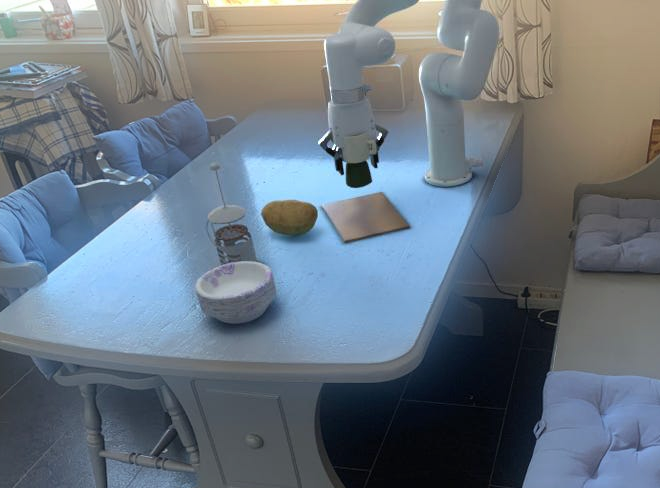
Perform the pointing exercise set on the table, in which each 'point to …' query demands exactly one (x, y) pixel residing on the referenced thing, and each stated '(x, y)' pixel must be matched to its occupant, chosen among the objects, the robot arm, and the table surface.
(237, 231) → the french press
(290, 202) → the potato
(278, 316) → the table surface
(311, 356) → the table surface
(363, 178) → the character mug
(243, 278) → the paper bowls
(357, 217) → the placemat
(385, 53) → the robot arm
